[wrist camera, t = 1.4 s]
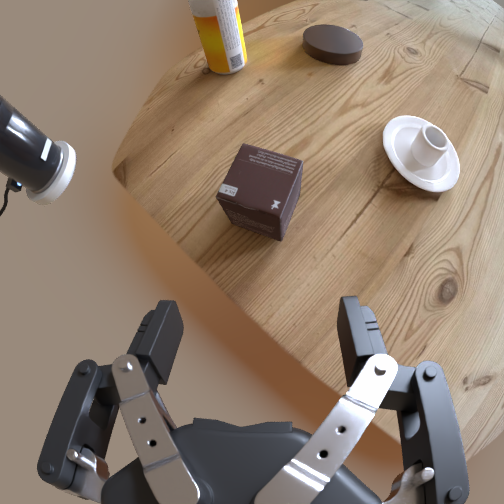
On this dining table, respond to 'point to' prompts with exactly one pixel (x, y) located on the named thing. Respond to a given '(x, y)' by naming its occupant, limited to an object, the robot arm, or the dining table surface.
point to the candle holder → (421, 153)
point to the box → (261, 190)
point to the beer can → (220, 34)
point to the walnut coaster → (332, 44)
